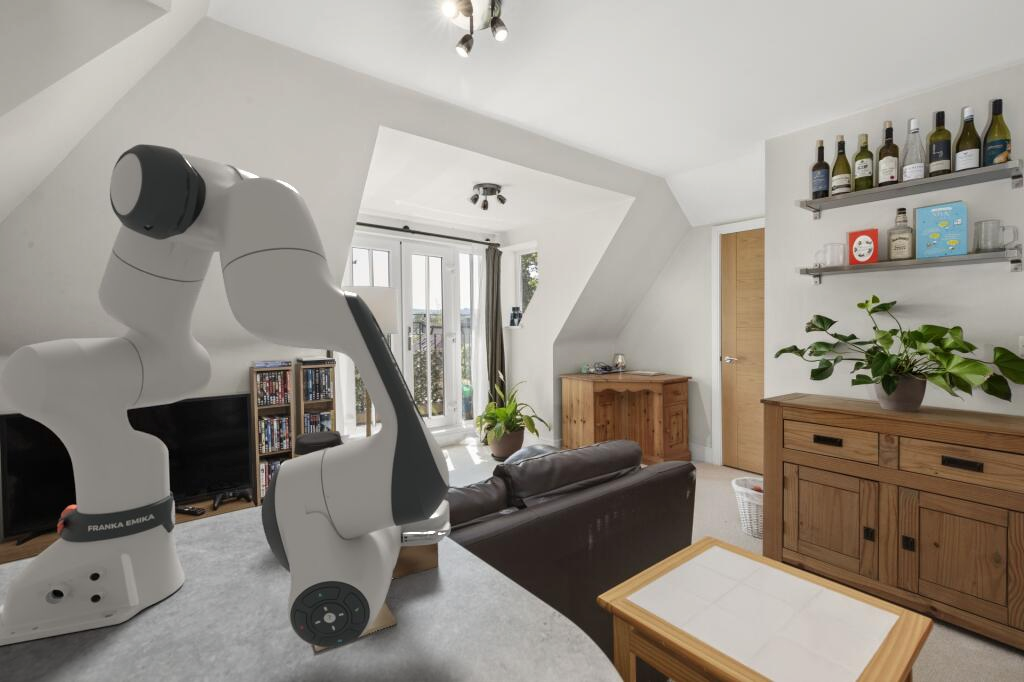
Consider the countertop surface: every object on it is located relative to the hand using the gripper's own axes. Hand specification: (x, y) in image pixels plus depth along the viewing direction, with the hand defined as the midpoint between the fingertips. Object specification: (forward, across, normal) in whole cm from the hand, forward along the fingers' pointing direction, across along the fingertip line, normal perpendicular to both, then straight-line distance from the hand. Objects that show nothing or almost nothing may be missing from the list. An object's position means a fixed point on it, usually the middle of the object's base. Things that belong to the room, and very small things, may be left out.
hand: (383, 502), depth 73 cm
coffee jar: (+30, +18, +14) cm, 37 cm away
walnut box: (+8, 0, +13) cm, 16 cm away
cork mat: (-7, +4, +13) cm, 15 cm away
